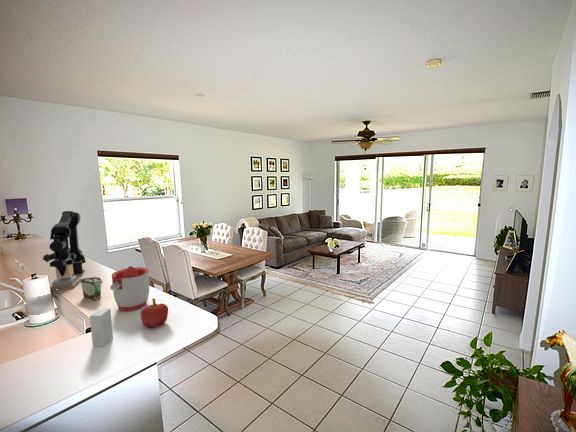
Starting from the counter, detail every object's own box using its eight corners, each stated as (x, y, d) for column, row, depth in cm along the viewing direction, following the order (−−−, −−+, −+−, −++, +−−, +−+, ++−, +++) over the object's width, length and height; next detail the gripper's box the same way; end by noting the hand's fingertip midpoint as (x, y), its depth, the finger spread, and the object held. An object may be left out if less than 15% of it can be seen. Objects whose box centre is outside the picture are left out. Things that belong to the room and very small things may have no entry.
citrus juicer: (102, 311, 128) (99, 269, 125) (135, 297, 144) (133, 260, 141) (126, 317, 122) (123, 274, 120) (158, 302, 138) (155, 263, 136)
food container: (108, 297, 144) (107, 278, 142) (96, 301, 138) (95, 282, 137) (94, 293, 149) (93, 275, 148) (81, 297, 143) (80, 278, 142)
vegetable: (141, 321, 119) (139, 299, 118) (167, 316, 124) (166, 294, 123) (141, 333, 109) (140, 309, 108) (170, 327, 114) (168, 304, 113)
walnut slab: (58, 284, 162) (58, 280, 162) (81, 282, 166) (80, 278, 166) (50, 291, 152) (49, 287, 152) (74, 289, 156) (73, 285, 155)
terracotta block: (61, 275, 160) (60, 265, 159) (73, 274, 162) (72, 264, 161) (56, 278, 154) (55, 268, 154) (69, 277, 156) (68, 267, 156)
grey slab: (58, 281, 161) (58, 277, 161) (77, 279, 164) (76, 275, 164) (52, 286, 153) (51, 282, 152) (72, 284, 156) (71, 280, 156)
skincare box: (101, 337, 106) (99, 308, 105) (113, 337, 107) (111, 307, 105) (91, 347, 100) (89, 316, 99) (104, 346, 101) (101, 315, 99)
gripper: (52, 245, 162) (55, 270, 164) (36, 252, 145) (39, 281, 147) (75, 243, 166) (77, 268, 168) (61, 251, 148) (64, 279, 150)
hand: (65, 274), depth 158 cm, fingers closed on terracotta block, 6 cm apart
